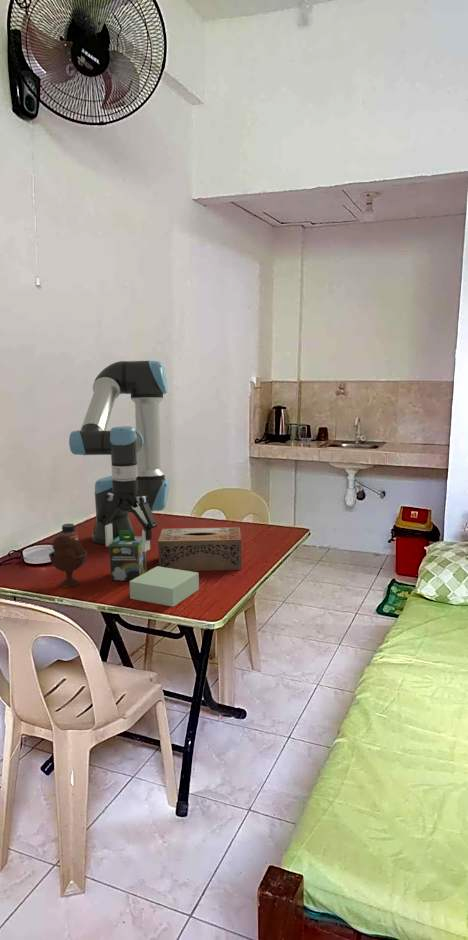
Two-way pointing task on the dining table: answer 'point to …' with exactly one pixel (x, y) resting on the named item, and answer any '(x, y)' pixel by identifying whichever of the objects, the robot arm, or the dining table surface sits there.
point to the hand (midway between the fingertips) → (127, 547)
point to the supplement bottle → (69, 531)
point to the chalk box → (127, 557)
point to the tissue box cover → (200, 549)
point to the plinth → (164, 586)
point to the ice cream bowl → (67, 557)
